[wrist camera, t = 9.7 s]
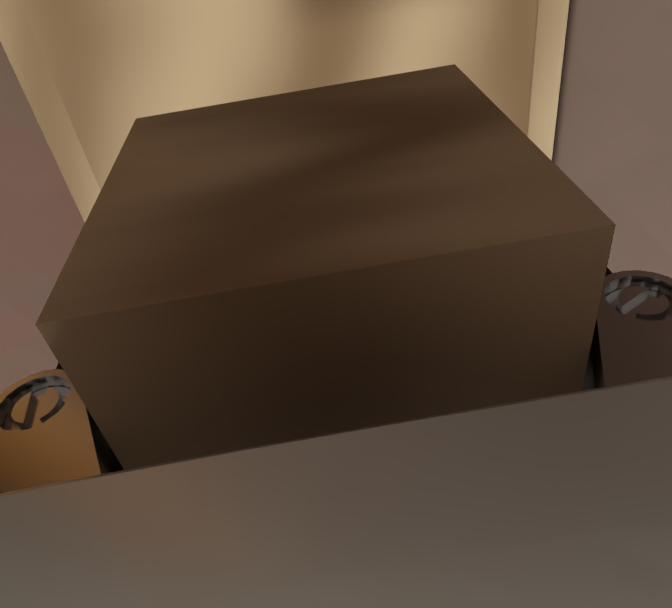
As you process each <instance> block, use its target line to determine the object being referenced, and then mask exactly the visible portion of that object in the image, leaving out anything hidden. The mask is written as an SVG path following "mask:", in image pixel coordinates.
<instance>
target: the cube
mask: <svg viewBox="0 0 672 608" xmlns="http://www.w3.org/2000/svg"><path fill="white" fill-rule="evenodd" d="M614 229H615V224H614V223H613V222H612V221H611V220H610V219H609V218H608V217H607V216H606V215H605V214H604V213H603V212H602V211H601V210H600V209H599V208H598V207H597V206H596V205H595V204H594V203H593V202H592V201H591V200H590V199H589V198H588V197H587V196H586V195H585V194H584V193H583V192H582V191H581V190H580V189H579V188H578V187H577V186H576V185H575V184H574V183H573V182H572V181H571V180H570V179H569V178H568V177H567V176H566V175H565V174H564V173H563V172H562V171H561V170H560V169H559V168H558V167H557V166H556V165H555V164H554V163H553V162H552V161H551V160H550V159H549V158H548V157H547V156H546V155H545V154H544V153H543V152H542V151H541V150H540V149H539V148H538V147H537V146H536V145H535V144H534V143H533V142H532V141H531V140H530V139H529V138H528V137H527V136H526V135H525V134H524V133H523V132H522V131H521V130H520V129H519V128H518V127H517V126H516V125H515V124H514V123H513V122H512V121H511V120H510V119H509V118H508V117H507V116H506V115H505V114H504V113H503V112H502V111H501V110H500V109H499V108H498V107H497V106H496V105H495V104H494V103H493V102H492V101H491V100H490V99H489V98H488V97H487V96H486V95H485V94H484V93H483V92H482V91H481V90H480V89H479V88H478V87H477V86H476V85H475V84H474V83H473V82H472V81H471V80H470V79H469V78H468V77H467V76H466V75H465V74H464V73H463V72H462V71H461V70H460V69H459V68H458V67H457V66H456V65H455V64H453V65H447V66H441V67H435V68H429V69H423V70H418V71H412V72H406V73H400V74H394V75H388V76H382V77H376V78H371V79H365V80H359V81H353V82H347V83H341V84H335V85H329V86H324V87H318V88H312V89H306V90H300V91H294V92H288V93H282V94H277V95H271V96H265V97H259V98H253V99H247V100H241V101H235V102H230V103H224V104H218V105H212V106H206V107H200V108H194V109H189V110H183V111H177V112H171V113H165V114H159V115H153V116H147V117H142V118H136V119H135V121H134V123H133V126H132V128H131V130H130V132H129V134H128V136H127V138H126V140H125V142H124V144H123V146H122V148H121V150H120V152H119V154H118V156H117V158H116V160H115V162H114V165H113V167H112V169H111V171H110V173H109V175H108V177H107V179H106V181H105V183H104V185H103V187H102V189H101V191H100V193H99V195H98V197H97V199H96V201H95V204H94V206H93V208H92V210H91V212H90V214H89V216H88V218H87V220H86V222H85V224H84V226H83V228H82V230H81V232H80V234H79V236H78V238H77V240H76V242H75V245H74V247H73V249H72V251H71V253H70V255H69V257H68V259H67V261H66V263H65V265H64V267H63V269H62V271H61V273H60V275H59V277H58V279H57V281H56V284H55V286H54V288H53V290H52V292H51V294H50V296H49V298H48V300H47V302H46V304H45V306H44V308H43V310H42V312H41V314H40V316H39V318H38V320H37V322H36V325H37V327H38V329H39V330H40V332H41V334H42V335H43V337H44V339H45V340H46V342H47V344H48V345H49V347H50V349H51V350H52V352H53V353H54V355H55V357H56V358H57V360H58V362H59V363H60V365H61V367H62V368H63V370H64V372H65V373H66V375H67V376H68V378H69V380H70V381H71V383H72V385H73V386H74V388H75V390H76V391H77V393H78V395H79V396H80V398H81V400H82V401H83V403H84V404H85V406H86V408H87V409H88V411H89V413H90V414H91V416H92V418H93V419H94V421H95V423H96V424H97V426H98V428H99V429H100V431H101V432H102V434H103V436H104V437H105V439H106V441H107V442H108V444H109V446H110V447H111V449H112V451H113V452H114V454H115V456H116V457H117V459H118V460H119V462H120V464H121V465H122V467H123V469H124V470H127V469H133V468H138V467H144V466H149V465H155V464H161V463H166V462H172V461H177V460H183V459H189V458H194V457H200V456H205V455H211V454H217V453H222V452H228V451H233V450H239V449H245V448H250V447H256V446H261V445H267V444H273V443H279V442H284V441H290V440H296V439H302V438H307V437H313V436H319V435H325V434H330V433H336V432H342V431H348V430H353V429H359V428H365V427H371V426H377V425H383V424H388V423H394V422H400V421H406V420H412V419H417V418H423V417H429V416H435V415H441V414H447V413H453V412H459V411H465V410H471V409H477V408H483V407H488V406H494V405H500V404H506V403H512V402H518V401H524V400H530V399H536V398H542V397H548V396H554V395H560V394H566V393H572V392H578V391H582V388H583V383H584V378H585V373H586V368H587V363H588V358H589V353H590V348H591V343H592V338H593V333H594V328H595V323H596V318H597V313H598V308H599V303H600V298H601V293H602V288H603V284H604V279H605V274H606V269H607V264H608V259H609V254H610V249H611V244H612V239H613V234H614Z"/></svg>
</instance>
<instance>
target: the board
mask: <svg viewBox="0 0 672 608" xmlns="http://www.w3.org/2000/svg"><path fill="white" fill-rule="evenodd" d="M568 9H569V0H0V41H1V43H2V46H3V48H4V50H5V52H6V54H7V56H8V58H9V61H10V63H11V65H12V67H13V69H14V71H15V74H16V76H17V78H18V80H19V82H20V84H21V86H22V89H23V91H24V93H25V95H26V97H27V99H28V102H29V104H30V106H31V108H32V110H33V112H34V114H35V117H36V119H37V121H38V123H39V125H40V127H41V130H42V132H43V134H44V136H45V138H46V140H47V142H48V145H49V147H50V149H51V151H52V153H53V155H54V158H55V160H56V162H57V164H58V166H59V168H60V171H61V173H62V175H63V177H64V179H65V181H66V183H67V186H68V188H69V190H70V192H71V194H72V196H73V199H74V201H75V203H76V205H77V207H78V209H79V211H80V214H81V216H82V218H83V220H84V222H86V220H87V218H88V216H89V214H90V212H91V210H92V208H93V206H94V204H95V201H96V199H97V197H98V195H99V193H100V191H101V189H102V187H103V185H104V183H105V181H106V179H107V177H108V175H109V173H110V171H111V169H112V167H113V165H114V162H115V160H116V158H117V156H118V154H119V152H120V150H121V148H122V146H123V144H124V142H125V140H126V138H127V136H128V134H129V132H130V130H131V128H132V126H133V123H134V121H135V119H136V118H142V117H147V116H153V115H159V114H165V113H171V112H177V111H183V110H189V109H194V108H200V107H206V106H212V105H218V104H224V103H230V102H235V101H241V100H247V99H253V98H259V97H265V96H271V95H277V94H282V93H288V92H294V91H300V90H306V89H312V88H318V87H324V86H329V85H335V84H341V83H347V82H353V81H359V80H365V79H371V78H376V77H382V76H388V75H394V74H400V73H406V72H412V71H418V70H423V69H429V68H435V67H441V66H447V65H453V64H455V65H456V66H457V67H458V68H459V69H460V70H461V71H462V72H463V73H464V74H465V75H466V76H467V77H468V78H469V79H470V80H471V81H472V82H473V83H474V84H475V85H476V86H477V87H478V88H479V89H480V90H481V91H482V92H483V93H484V94H485V95H486V96H487V97H488V98H489V99H490V100H491V101H492V102H493V103H494V104H495V105H496V106H497V107H498V108H499V109H500V110H501V111H502V112H503V113H504V114H505V115H506V116H507V117H508V118H509V119H510V120H511V121H512V122H513V123H514V124H515V125H516V126H517V127H518V128H519V129H520V130H521V131H522V132H523V133H524V134H525V135H526V136H527V137H528V138H529V139H530V140H531V141H532V142H533V143H534V144H535V145H536V146H537V147H538V148H539V149H540V150H541V151H542V152H543V153H544V154H545V155H546V156H547V157H548V158H549V159H550V160H551V161H552V153H553V144H554V135H555V126H556V117H557V108H558V99H559V90H560V81H561V72H562V63H563V54H564V45H565V36H566V27H567V18H568Z"/></svg>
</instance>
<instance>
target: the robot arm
mask: <svg viewBox="0 0 672 608" xmlns="http://www.w3.org/2000/svg"><path fill="white" fill-rule="evenodd" d="M0 608H672V278H670V277H668V276H664V275H661V274H657V273H654V272H647V271H639V270H634V271H621V272H617V273H612V272H611V271H610V270H609V269H608V268H607V269H606V274H605V279H604V284H603V288H602V293H601V298H600V303H599V308H598V313H597V318H596V323H595V328H594V333H593V338H592V343H591V348H590V353H589V358H588V363H587V368H586V373H585V378H584V383H583V388H582V391H578V392H572V393H566V394H560V395H554V396H548V397H542V398H536V399H530V400H524V401H518V402H512V403H506V404H500V405H494V406H488V407H483V408H477V409H471V410H465V411H459V412H453V413H447V414H441V415H435V416H429V417H423V418H417V419H412V420H406V421H400V422H394V423H388V424H383V425H377V426H371V427H365V428H359V429H353V430H348V431H342V432H336V433H330V434H325V435H319V436H313V437H307V438H302V439H296V440H290V441H284V442H279V443H273V444H267V445H261V446H256V447H250V448H245V449H239V450H233V451H228V452H222V453H217V454H211V455H205V456H200V457H194V458H189V459H183V460H177V461H172V462H166V463H161V464H155V465H149V466H144V467H138V468H133V469H127V470H124V469H123V467H122V465H121V464H120V462H119V460H118V459H117V457H116V456H115V454H114V452H113V451H112V449H111V447H110V446H109V444H108V442H107V441H106V439H105V437H104V436H103V434H102V432H101V431H100V429H99V428H98V426H97V424H96V423H95V421H94V419H93V418H92V416H91V414H90V413H89V411H88V409H87V408H86V406H85V404H84V403H83V401H82V400H81V398H80V396H79V395H78V393H77V391H76V390H75V388H74V386H73V385H72V383H71V381H70V380H69V378H68V376H67V375H66V373H65V372H64V370H63V368H62V367H61V365H60V363H58V365H57V368H56V369H52V370H44V371H40V372H37V373H34V374H31V375H29V376H27V377H25V378H23V379H21V380H19V381H17V382H15V383H14V384H12V385H11V386H10V387H8V388H7V389H5V390H4V391H3V392H2V393H1V394H0Z"/></svg>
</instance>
